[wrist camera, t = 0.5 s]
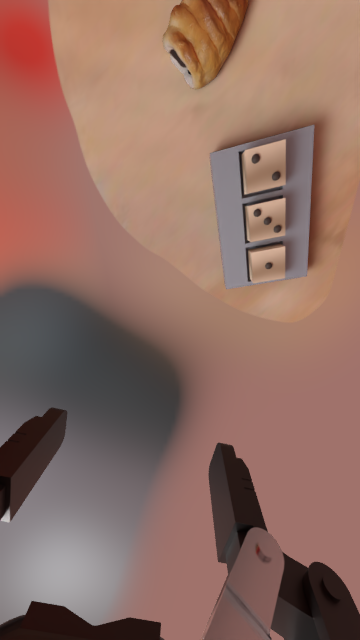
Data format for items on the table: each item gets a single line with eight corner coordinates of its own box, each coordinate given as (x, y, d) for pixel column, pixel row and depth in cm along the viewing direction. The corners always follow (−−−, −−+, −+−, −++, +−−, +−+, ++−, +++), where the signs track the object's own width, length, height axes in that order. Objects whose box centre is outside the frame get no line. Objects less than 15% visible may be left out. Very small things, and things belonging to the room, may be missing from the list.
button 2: (241, 155, 27) (245, 149, 25) (278, 145, 26) (286, 138, 24) (244, 194, 29) (248, 193, 26) (279, 186, 28) (286, 184, 26)
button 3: (245, 206, 29) (248, 206, 27) (279, 198, 29) (286, 197, 26) (247, 240, 31) (250, 242, 29) (279, 233, 31) (285, 235, 28)
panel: (209, 157, 29) (210, 153, 27) (305, 131, 27) (314, 124, 25) (224, 284, 37) (226, 289, 35) (300, 271, 35) (307, 276, 32)
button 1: (247, 249, 32) (251, 253, 29) (279, 243, 31) (285, 246, 29) (249, 278, 34) (253, 283, 31) (279, 273, 33) (285, 278, 31)
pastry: (219, -52, 22) (223, -101, 18) (262, 15, 23) (272, -18, 20) (159, 51, 25) (153, 27, 22) (200, 102, 27) (200, 87, 24)
